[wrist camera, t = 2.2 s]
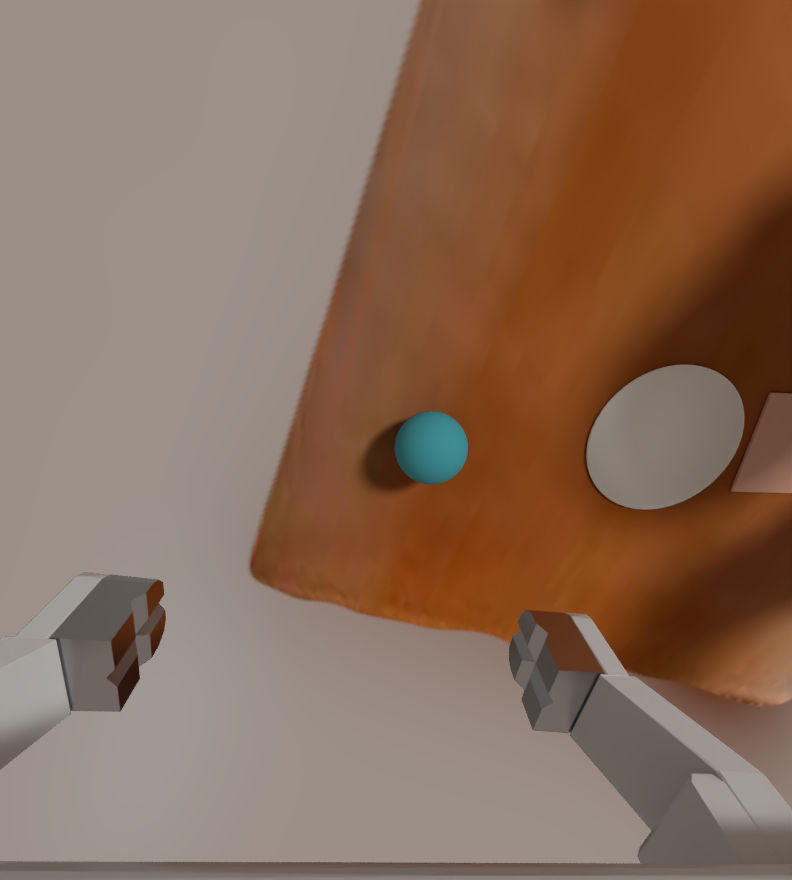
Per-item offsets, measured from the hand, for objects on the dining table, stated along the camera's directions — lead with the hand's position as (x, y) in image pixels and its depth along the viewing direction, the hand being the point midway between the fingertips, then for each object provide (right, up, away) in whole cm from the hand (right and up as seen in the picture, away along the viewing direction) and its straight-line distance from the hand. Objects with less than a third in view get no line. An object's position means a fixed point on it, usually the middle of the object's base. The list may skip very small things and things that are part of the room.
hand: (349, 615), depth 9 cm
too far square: (+36, +4, +25) cm, 43 cm away
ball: (+4, +3, +21) cm, 21 cm away
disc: (+24, +4, +24) cm, 34 cm away
